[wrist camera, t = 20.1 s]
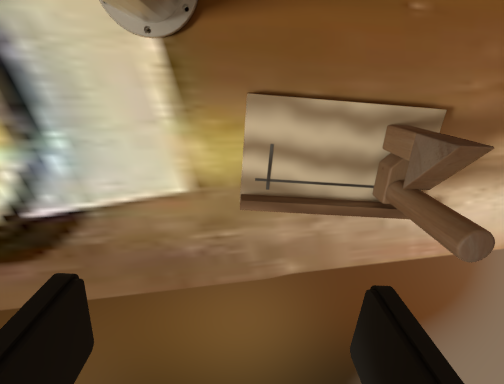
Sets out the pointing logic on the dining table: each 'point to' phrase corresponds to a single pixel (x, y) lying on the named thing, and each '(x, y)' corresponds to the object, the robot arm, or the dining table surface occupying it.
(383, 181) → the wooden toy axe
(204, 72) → the dining table surface
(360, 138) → the marking board
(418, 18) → the dining table surface
